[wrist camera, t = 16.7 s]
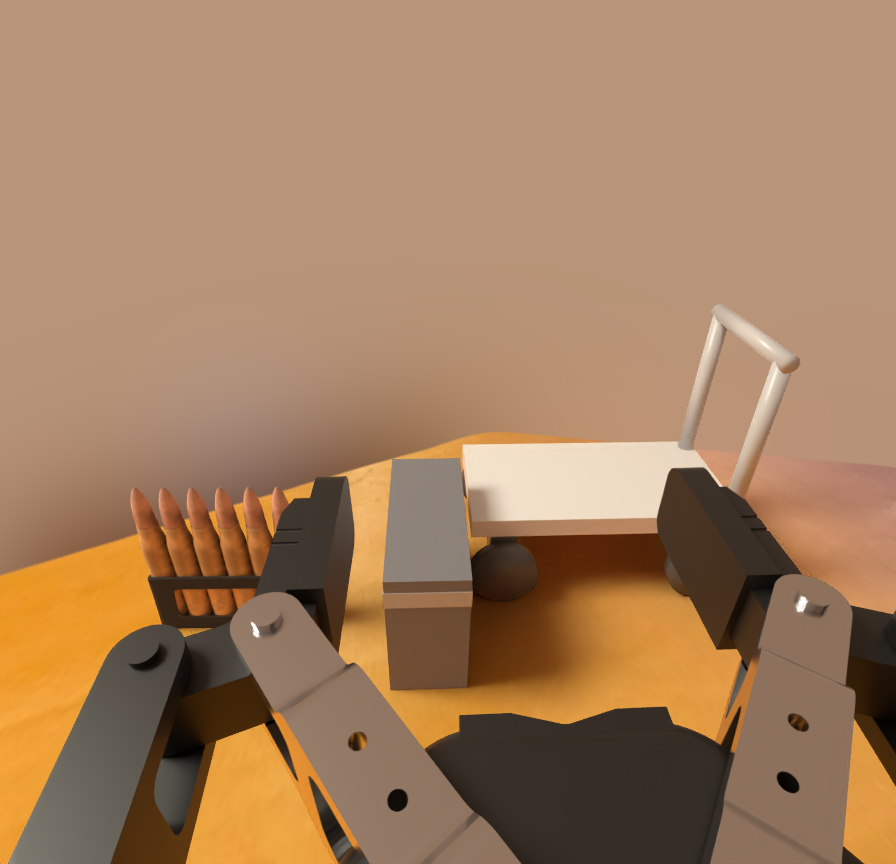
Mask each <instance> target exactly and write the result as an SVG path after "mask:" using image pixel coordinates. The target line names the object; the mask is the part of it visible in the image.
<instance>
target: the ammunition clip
mask: <svg viewBox="0 0 896 864" xmlns="http://www.w3.org/2000/svg"><path fill="white" fill-rule="evenodd" d="M288 505H289V504H288V501H287V499H286V497H285V495H284V493H283V492H282V491H281V489H280V488H279V487H276V488H275V489H274V492H273V497H272V516H273V522H274V532H276V528H277V525H278V522H279V519H280V516H281V513H282V512H283V511H284V510H285V508H286V507H287V506H288ZM243 507H244V517H245V521H246V529H247V541H246V538H245V535H244V533H243V531H242V530H241V528H240V524H239V521H238V519H237V516H236V512H235V509H234V507H233V504H232V502H231V501H230V498H229V497H228V496H227V494H226V492H225V491H224V490H223V489H222V488H220V487H219V488H218V489H217V491H216V495H215V511H216V517H217V521H218V528H219V532H220V539H219V536H218V534H217V532H216V530H215V529H214V527H213V524H212V521H211V519H210V516H209V513H208V510H207V508H206V506H205V503H204V502H203V500H202V498H201V496H200V495H199V494H198V492H197V491H196V490H194V489H193V488H189V491H188V495H187V509H188V515H189V519H190V523H191V529H192V533H193V537H192V535H191V533H190V531H189V530H188V528H187V526H186V523H185V521H184V519H183V517H182V514H181V511H180V509H179V507H178V505H177V503H176V501H175V499H174V498H173V497H172V495H171V494H170V493H169V492H168V491H167V490H166V489H165V488H161V490H160V494H159V508H160V513H161V518H162V521H163V524H164V530H165V533H166V535H165V534H164V532H163V531H162V529H161V528H160V526H159V523H158V521H157V519H156V518H155V515H154V512H153V510H152V508H151V506H150V504H149V502H148V501H147V499H146V498H145V496H144V495H143V494H142V493H141V492H140V491H139V490H138V489H136V488H133V489H132V492H131V508H132V513H133V517H134V520H135V523H136V528H137V531H138V535H139V542H140V547H141V550H142V553H143V556H144V558H145V561H146V564H147V566H148V569H149V572H150V574H151V575H149V577H148V582H149V585H150V588H151V590H152V593H153V597H154V600H155V603H156V606H157V609H158V612H159V616H160V619H161V622H162V625H170V626H173V627H175V628H216V627H219V626H222V625H224V624H226V623H228V622H230V621H231V620H232V618H233V616H234V614H235V613H236V612H237V610H238V609H239V608H240V607H241V606H242V605H243V604H245V603H246V602H247V601H249V600H250V599H252V598H254V595H255V593H256V590H257V587H258V583H259V580H260V577H261V574H262V571H263V568H264V565H265V562H266V559H267V556H268V553H269V549H270V546H272V540H273V538H272V535H271V533H270V531H269V529H268V526H267V523H266V520H265V517H264V513H263V509H262V507H261V504H260V502H259V500H258V498H257V496H256V494H255V493H254V491H253V490H252V489H251V488H249V487H247V488H246V490H245V494H244V503H243Z"/></svg>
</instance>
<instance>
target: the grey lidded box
mask: <svg viewBox="0 0 896 864" xmlns="http://www.w3.org/2000/svg"><path fill="white" fill-rule="evenodd" d="M472 598H473V589H472V572H471V562H470V552H469V542H468V533H467V523H466V513H465V504H464V494H463V484H462V475H461V465H460V458H451V459H392V471H391V483H390V496H389V509H388V522H387V534H386V547H385V560H384V572H383V607H384V609H385V621H386V635H387V649H388V663H389V677H390V690H413V689H446V688H467V679H468V659H469V639H470V619H471V607H472Z"/></svg>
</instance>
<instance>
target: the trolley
mask: <svg viewBox="0 0 896 864" xmlns="http://www.w3.org/2000/svg"><path fill="white" fill-rule="evenodd" d="M711 316H712V317H713V318H712V322H711V325H710V329H709V333H708V336H707V340H706V343H705V347H704V351H703V355H702V358H701V362H700V365H699V369H698V373H697V376H696V380H695V384H694V387H693V391H692V395H691V398H690V402H689V405H688V409H687V413H686V416H685V420H684V423H683V427H682V431H681V434H680V438H679V442H624V443H554V444H484V445H463V468H464V469H463V471H462V474H461V475H462V484H463V494H464V496H465V497H466V499H467V503H468V512H469V520H470V529H471V537H487V544H488V545H487V546H485V547H484V548H482V549H481V550H479V551H478V552H477V553H476V554H475V555H474V557H473V559H472V561H471V572H472V586H473V588H474V589H475V591H476V592H477V593H478V594H480V595H481V596H483V597H485V598H487V599H490V600H494V601H509V600H514V599H517V598H520V597H522V596H524V595H526V594H527V593H528V592H530V591H531V590H532V589H533V588H534V586H535V585H536V583H537V581H538V576H539V573H538V568H537V564H536V560H535V557H534V555H533V553H532V552H531V551H530V550H529V549H528V548H527V547H525V546H523V545H521V544H519V543H517V536H550V535H597V534H644V533H658V530H657V514H658V510H659V506H660V503H661V499H662V495H663V491H664V487H665V483H666V480H667V476H668V473H669V471H670V470H671V469H672V468H691V467H704V468H705V469H707V470H708V472H709V473H710V474H711V476H712V477H713V478H714V480H715V481H716V483H717V484H718V485H719V487H723V486H722V485H721V483H720V482H719V481H718V479H717V478H716V477H715V475H714V474H713V473H712V471H711V470H710V469H709V467H708V466H707V465H706V463H705V462H704V461H703V460H702V458H701V457H700V456H699V454H698V453H697V452H696V450H695V449H694V448H693V444H694V440H695V437H696V433H697V430H698V426H699V423H700V419H701V416H702V413H703V409H704V406H705V403H706V399H707V396H708V392H709V389H710V386H711V382H712V379H713V375H714V372H715V369H716V365H717V362H718V358H719V355H720V351H721V348H722V345H723V341H724V338H725V334H726V331H727V329H728V330H729V331H731V332H732V333H733V334H734V335H736V336H737V337H738V338H739V339H741V340H742V341H743V342H745V343H746V344H747V345H748V346H750V347H751V348H752V349H753V350H755V351H756V352H757V353H759V354H760V355H761V356H762V357H764V358H765V359H766V360H767V361H769V362H770V363H771V364H772V366H771V368H770V371H769V374H768V377H767V380H766V383H765V386H764V388H763V391H762V394H761V397H760V400H759V403H758V406H757V409H756V411H755V414H754V417H753V420H752V423H751V425H750V429H749V431H748V434H747V437H746V440H745V442H744V445H743V448H742V451H741V454H740V457H739V460H738V462H737V465H736V468H735V471H734V474H733V477H732V480H731V482H730V485H729V489H731V490H732V491H733V492H735V493H736V494H738V495H739V496H740V497H742V498H743V499H745V496H746V493H747V491H748V488H749V485H750V483H751V480H752V477H753V475H754V472H755V469H756V467H757V464H758V461H759V459H760V456H761V453H762V450H763V448H764V445H765V442H766V440H767V437H768V435H769V432H770V429H771V426H772V424H773V421H774V418H775V416H776V413H777V410H778V408H779V405H780V403H781V400H782V397H783V395H784V392H785V389H786V386H787V384H788V381H789V378H790V376H791V373H792V372H793V371H795V370H796V369H797V368H798V367H799V364H800V359H799V358H798V357H797V356H796V355H794V354H793V353H791V352H790V351H789V350H787V349H786V348H784V347H783V346H782V345H780V344H779V343H777V342H776V341H775V340H773V339H772V338H770V337H769V336H768V335H766V334H765V333H763V332H762V331H760V330H759V329H758V328H756V327H755V326H753V325H752V324H751V323H749V322H748V321H747V320H745V319H744V318H742V317H741V316H740V315H738V314H737V313H735V312H734V311H733V310H731V309H730V308H728V307H727V306H726V305H724V304H718V305H716V306H715V307H713V309H712V311H711ZM664 572H665V574H666V576H667V578H668V580H669V582H670V584H671V586H672V587H673V589H674V590H675V591H677V592H678V593H680V594H683V595H687V596H689V595H688V593H687V591H686V589H685V587H684V585H683V583H682V581H681V579H680V577H679V575H678V573H677V571H676V569H675V568H674V566H673V564H672V562H671V560H670V558H669V556H667V558H666V560H665V563H664Z"/></svg>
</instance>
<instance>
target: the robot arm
mask: <svg viewBox="0 0 896 864" xmlns="http://www.w3.org/2000/svg"><path fill="white" fill-rule="evenodd" d="M657 530H658V535H659V538H660V540H661V542H662V544H663V546H664V548H665V550H666V552H667V554H668V556H669V558H670V560H671V562H672V564H673V566H674V568H675V569H676V571H677V573H678V575H679V577H680V579H681V581H682V583H683V585H684V587H685V589H686V591H687V593H688V595H689V597H690V599H691V601H692V603H693V604H694V606H695V608H696V610H697V612H698V614H699V616H700V618H701V620H702V622H703V624H704V626H705V628H706V630H707V632H708V634H709V636H710V638H711V639H712V641H713V643H714V645H715V647H716V649H717V650H721V649H737V650H738V652H739V653H740V655H741V657H742V658H741V660H740V662H739V664H738V667H737V670H736V674H735V677H734V680H733V684H732V687H731V691H730V694H729V698H728V701H727V705H726V708H725V712H724V715H723V718H722V722H721V725H720V729H719V732H718V735H717V738H716V740H715V741H714V740H712V739H710V738H708V737H706V736H705V735H702V734H700V733H698V732H696V731H693V730H691V729H688V728H685V727H682V726H679V725H675V724H673V722H672V720H671V717H670V715H669V712H668V709H667V707H647V708H623V709H614V710H611V711H608V712H605V713H602V714H599V715H595V716H592V717H589V718H586V719H583V720H580V721H577V722H574V723H571V724H560V723H555V722H550V721H545V720H541V719H536V718H531V717H527V716H522V715H517V714H512V713H502V714H478V715H459V732H457V733H454V734H451V735H448V736H446V737H444V738H442V739H440V740H438V741H436V742H434V743H433V744H431V745H430V746H428V747H427V748H425V749H423V747H422V746H421V745H420V744H419V742H418V741H417V740H416V738H415V737H414V736H413V734H412V733H411V732H410V731H409V729H408V728H407V727H406V725H405V724H404V723H403V721H402V720H401V719H400V718H399V716H398V715H397V714H396V712H395V711H394V710H393V709H392V707H391V706H390V705H389V703H388V702H387V701H386V699H385V698H384V697H383V696H382V694H381V693H380V692H379V690H378V689H377V688H376V686H375V685H374V684H373V683H372V681H371V680H370V679H369V677H368V676H367V675H366V673H365V672H364V671H363V670H362V669H361V668H360V667H359V666H358V665H357V664H355V663H351V664H349V665H348V664H346V663H345V662H344V661H343V659H342V658H341V657H340V655H339V654H338V653H339V646H340V639H341V632H342V625H343V619H344V612H345V605H346V598H347V591H348V584H349V577H350V570H351V564H352V557H353V550H354V521H353V513H352V505H351V498H350V490H349V483H348V478H347V477H346V476H343V477H317V478H316V479H315V482H314V486H313V489H312V493H311V497H310V498H295V499H294V500H293V501H292V502H291V503H290V504H289V505H288V506H287V507H286V508H285V510H284V511H283V512H282V513H281V516H280V519H279V522H278V525H277V528H276V532H275V534H274V537H273V540H272V546H270V549H269V553H268V556H267V559H266V562H265V565H264V568H263V571H262V574H261V577H260V580H259V583H258V587H257V590H256V593H255V595H254V598H252V599H250V600H249V601H247V602H246V603H245V604H243V605H242V606H241V607H240V608H239V609H238V610H237V612H236V613H235V614H234V616H233V618H232V620H231V621H230V622H228V623H226V624H224V625H222V626H219V627H216V628H213V629H210V630H207V631H203V632H200V633H197V634H194V635H190V636H187V637H184V636H183V635H182V633H181V632H180V631H179V630H178V629H177V628H175V627H173V626H170V625H151V626H147V627H144V628H141V629H139V630H136V631H134V632H132V633H131V634H129V635H127V636H126V637H124V638H123V639H122V640H121V641H119V642H118V643H117V644H116V645H115V646H114V647H113V648H112V650H111V651H110V652H109V653H108V655H107V657H106V659H105V661H104V663H103V665H102V667H101V669H100V671H99V673H98V675H97V677H96V680H95V682H94V684H93V686H92V688H91V690H90V692H89V694H88V696H87V698H86V701H85V703H84V705H83V707H82V709H81V711H80V713H79V715H78V717H77V719H76V722H75V724H74V726H73V728H72V730H71V732H70V734H69V736H68V738H67V740H66V743H65V745H64V747H63V749H62V751H61V753H60V755H59V757H58V759H57V762H56V764H55V766H54V768H53V770H52V772H51V774H50V776H49V778H48V780H47V783H46V785H45V787H44V789H43V791H42V793H41V795H40V797H39V799H38V801H37V804H36V806H35V808H34V810H33V812H32V814H31V816H30V818H29V820H28V822H27V825H26V827H25V829H24V831H23V833H22V835H21V837H20V839H19V841H18V843H17V846H16V848H15V850H14V852H13V854H12V856H11V858H10V860H9V862H8V864H186V860H187V856H188V852H189V848H190V844H191V840H192V836H193V832H194V828H195V824H196V820H197V816H198V812H199V808H200V804H201V800H202V796H203V792H204V788H205V784H206V780H207V776H208V772H209V768H210V764H211V760H212V756H213V752H214V748H215V744H216V741H217V740H220V739H222V738H225V737H228V736H231V735H233V734H236V733H239V732H241V731H244V730H247V729H250V728H252V727H255V726H258V725H261V724H262V725H263V727H264V729H265V731H266V732H267V734H268V736H269V738H270V740H271V742H272V743H273V745H274V747H275V749H276V751H277V752H278V754H279V756H280V758H281V760H282V762H283V763H284V765H285V767H286V769H287V771H288V773H289V774H290V776H291V778H292V780H293V782H294V783H295V785H296V787H297V789H298V791H299V793H300V795H301V797H302V799H303V801H304V803H305V806H306V808H307V810H308V813H309V815H310V817H311V819H312V821H313V823H314V825H315V827H316V829H317V831H318V833H319V835H320V837H321V839H322V841H323V843H324V845H325V846H326V848H327V850H328V852H329V854H330V856H331V857H332V859H333V861H334V863H335V864H864V863H863V862H861V861H860V860H859V859H858V858H857V857H855V856H854V855H853V854H852V853H851V852H849V851H848V850H847V849H846V848H845V847H844V846H843V839H844V827H845V815H846V804H847V792H848V780H849V769H850V757H851V746H852V734H853V722H854V719H855V720H856V722H857V724H858V725H859V727H860V729H861V730H862V732H863V733H864V735H865V737H866V738H867V740H868V742H869V743H870V745H871V747H872V748H873V750H874V751H875V753H876V755H877V756H878V758H879V760H880V761H881V763H882V765H883V766H884V768H885V769H886V771H887V773H888V774H889V776H890V778H891V779H892V781H893V783H894V784H895V786H896V611H895V612H894V614H888V613H884V612H879V611H874V610H869V609H865V608H860V607H855V606H851V605H849V603H848V601H847V600H846V599H845V597H844V596H843V595H842V594H841V593H840V592H838V591H837V590H836V589H835V588H833V587H832V586H830V585H828V584H827V583H825V582H823V581H821V580H818V579H816V578H813V577H810V576H805V575H802V574H801V572H800V571H799V570H798V568H797V567H796V566H795V564H794V563H793V562H792V561H791V559H790V558H789V557H788V555H787V554H786V553H785V551H784V550H783V549H782V547H781V546H780V545H779V544H778V542H777V541H776V540H775V538H774V537H773V536H772V534H771V533H770V532H769V531H767V530H766V527H765V525H764V524H763V523H762V521H761V520H760V519H759V518H757V515H756V513H755V512H754V511H753V509H752V508H751V507H750V506H749V504H748V503H747V502H746V500H745V499H743V498H742V497H740V496H739V495H738V494H736V493H735V492H733V491H732V490H731V489H729V488H728V487H719V485H718V484H717V483H716V481H715V480H714V478H713V477H712V476H711V474H710V473H709V472H708V470H707V469H705V468H704V467H691V468H672V469H671V470H670V471H669V473H668V476H667V480H666V483H665V487H664V491H663V495H662V499H661V503H660V506H659V510H658V514H657Z"/></svg>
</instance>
